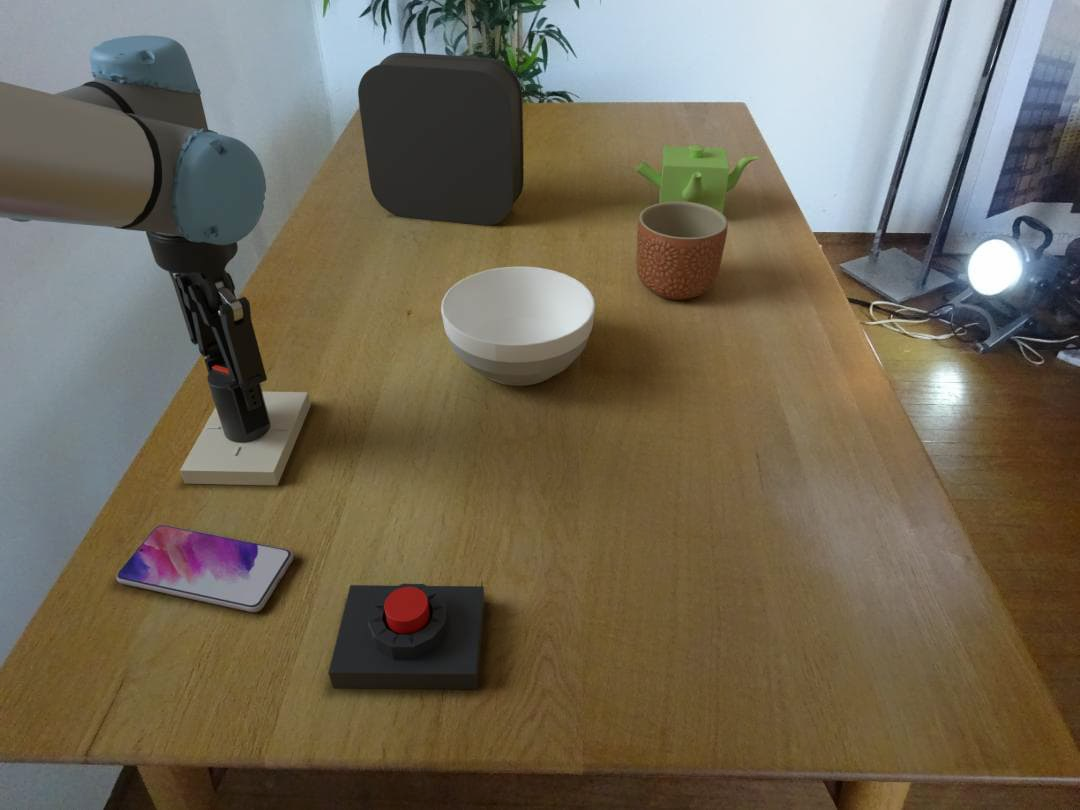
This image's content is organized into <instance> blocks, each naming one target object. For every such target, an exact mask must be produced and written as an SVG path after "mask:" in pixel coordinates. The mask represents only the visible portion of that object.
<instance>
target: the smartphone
mask: <svg viewBox="0 0 1080 810" xmlns="http://www.w3.org/2000/svg"><path fill="white" fill-rule="evenodd" d="M293 560H294V553H293V551H292V550H290V549H288V548H284V547H283V548H282V547H277V546H273V545H268V544H262V543H259V542H252V541H248V540H242V539H238V538H234V537H227V536H224V535H220V534H219V535H218V534H213V533H207V532H204V531H198V530H194V529H193V530H192V529H188V528H183V527H180V526H179V527H178V526H174V525H169V524H159V525H157V526H155V527H154V528H153V529H152V530H151V531H150V533H149V534H148V535H147V536H146V537H145V538H144V540H143V541H142V542H141V544H140V545H139V546H138V547H137V549H136V550H135V551H134V552H133V553H132V554H131V555H130V557H129V558H128V559H127V561H125V563H124V564H123V565H122V566H121V568H119V570H118V571H117V573H116V575H115V576H116V577H115V579H116V582H118V583H119V584H122V585H124V586H125V585H126V586H129V587H130V586H131V587H135V588H139V589H145V590H147V591H148V590H149V591H154V592H158V593H162V594H166V595H172V596H176V597H181V598H185V599H190V600H195V601H199V602H203V603H208V604H212V605H217V606H221V607H227V608H231V609H235V610H240V611H243V612H244V611H245V612H249V613H258V612H260V611H262V609H264V607H265V606H266V604H267V603H268V601H269V599H270V598H271V596H272V594H273V592H274V591H275V590H276V588H277V586H278V584H279V583H280V581H281V579H282V578H283V577H284V575H285V574H286V571H287V570H288V569H289V567H290V565H291V564H292V562H293Z"/></svg>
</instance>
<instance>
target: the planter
mask: <svg viewBox="0 0 1080 810" xmlns="http://www.w3.org/2000/svg"><path fill="white" fill-rule="evenodd" d="M636 232H637V233H636V236H637V237H636V261H635V262H636V272H637V277H638V278H639V281H640V282H641V284H642V285H643V286H644V287H645V289H647V290H648V291H649V292H650V293H652V294H654V295H655V296H658V297H660V298H663V299H666V300H670V301H671V300H672V301H687V300H691V299H694V298H697V297H699V296H702V295H703V294H705V293H707V291H709V290H710V289H712V287H713V286H714V284H715V283H716V281H717V279H718V276H719V274H720V270H721V266H722V265H721V264H722V260H723V254H724V251H725V245H726V241H727V240H726V239H727V234H728V219H727V217H726V216H725V215H724V213H723V214H722V213H721V212H719V211H718V210H716V209H714V208H712V207H709V206H706V205H703V204H698V203H693V202H683V201H672V202H663V203H654V204H652V205H649V206H647V207H645V208H644V209H643V210H642V211H640V214H639V216H638V221H637V231H636Z"/></svg>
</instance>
